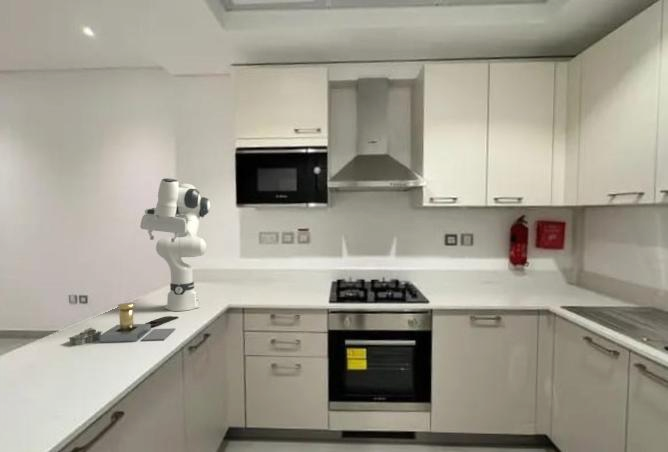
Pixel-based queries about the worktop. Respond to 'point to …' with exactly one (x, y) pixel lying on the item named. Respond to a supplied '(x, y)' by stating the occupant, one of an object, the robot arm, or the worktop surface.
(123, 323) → the round headed pin
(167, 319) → the wood
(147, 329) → the housing
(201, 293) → the worktop surface
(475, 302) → the worktop surface
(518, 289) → the worktop surface
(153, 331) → the mat
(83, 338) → the egg carton
